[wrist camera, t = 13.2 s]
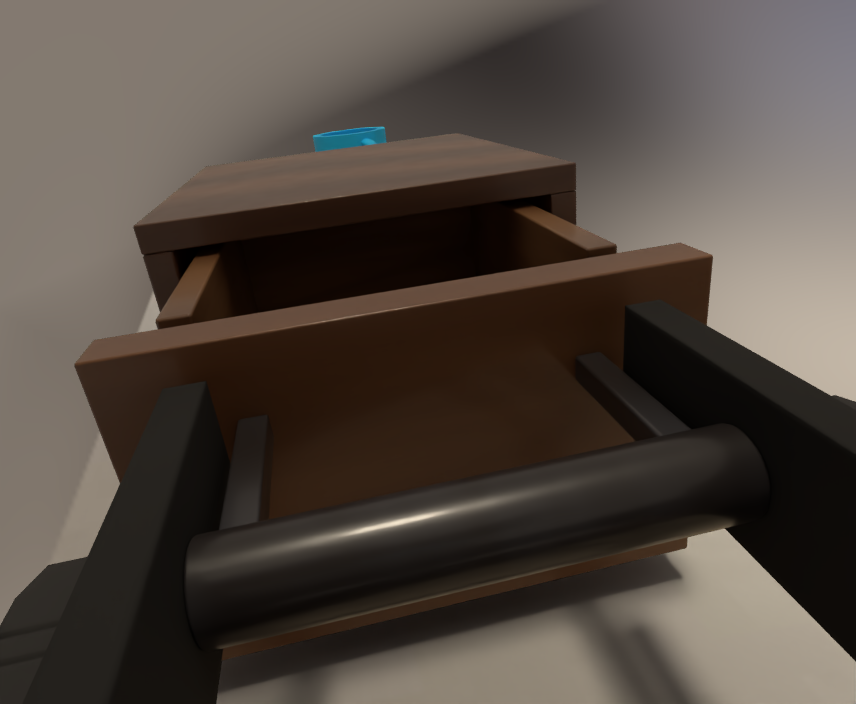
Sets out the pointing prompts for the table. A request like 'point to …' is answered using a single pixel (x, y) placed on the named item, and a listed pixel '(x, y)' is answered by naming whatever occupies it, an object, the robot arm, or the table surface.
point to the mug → (349, 138)
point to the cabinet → (343, 194)
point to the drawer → (422, 418)
